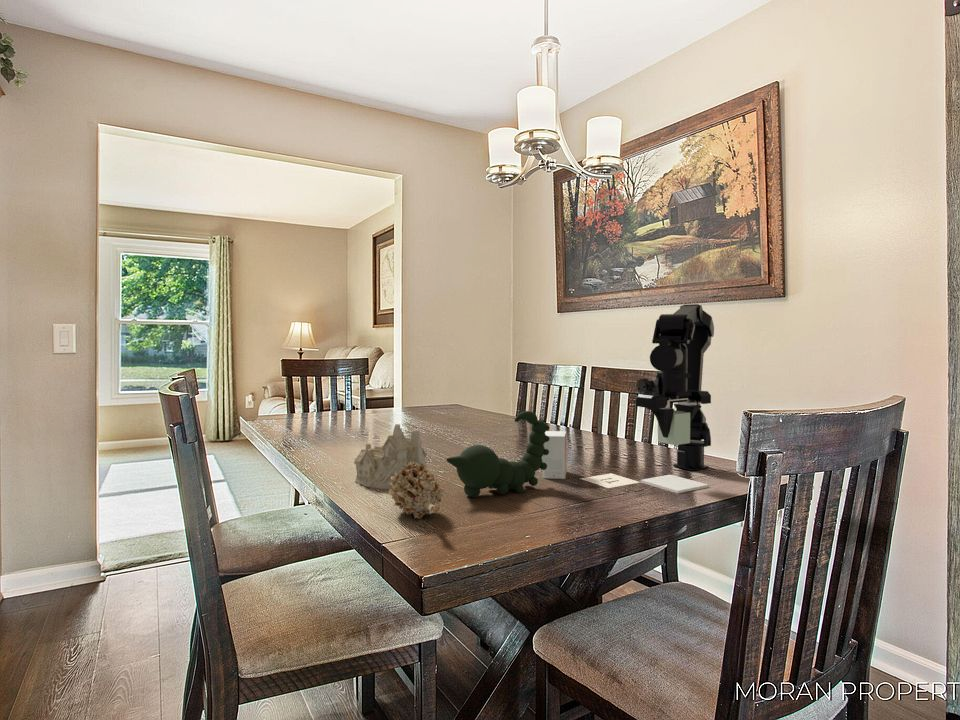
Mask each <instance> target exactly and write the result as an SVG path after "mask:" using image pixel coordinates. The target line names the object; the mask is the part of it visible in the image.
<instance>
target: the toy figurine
mask: <svg viewBox="0 0 960 720" xmlns="http://www.w3.org/2000/svg"><path fill="white" fill-rule="evenodd" d="M521 420H525V421H526V422H527V423H528V424H530V425H531V432H530V433H529V436H528V440H529V442H528V443H527V445H526V450H525V453H524V454H523V456H522V459H521V460H518V461H513V460H511V461H509V460H508V459H505V458H504V457H498V455H497V454H496V452H495V451H494V450H493V449H491V448H490V447H488V446H486V445H482V444H475V445H470V446H468V447H467V448H465V449H464V450H462V452H461V453H460V454H459V455H457V456H456V455H455V456H452V457H447V458H445V459H446V462H447V463H449V464H450V465H452V466H453V467H454V468H456V472H457V476H458V478H459V479H460V482H461V483H463V484H464V487H463V491H464V493H465V495H466V496H468V497H470V498H473V499H474V498H478V496H479V495H480V494H481V490H483V489H487V488H488V489H490V490H492V489H496V491H497V493H499V494H501V495H504V494H506V493H508V491H509V490H514V491H515V493H517V494H518V493H519V494H521V493H523V492H524V485H525V483H528V484H529V485H531V486H533V487H535V486H537V485H538V483H539V482H538V481H539V480H538V478H537V477H536V472H537V471H538V470H539V469H540V470H542V471H543V470H546V468H547V464H546V463H544V462H543V460H542V456H543V455H548V454H549V450H548V449H545V448H544V445H543V444H544V443H545V442H548V441H549V437H548V436H546V434H545V432H546V431H550V426H549V425H548V424H547V423H546V422H545V421H544V420H542V419H538V416H537V414H535V412H532V411H528V410H525V411H521V412H519V413H518V414H517V415H516V417H515V418H514V422H515V423H517V422H519V421H521ZM540 470H539V471H540Z"/></svg>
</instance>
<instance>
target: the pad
mask: <svg viewBox="0 0 960 720" xmlns="http://www.w3.org/2000/svg"><path fill="white" fill-rule="evenodd" d="M640 483H642V484H645V485H648V486H651V487H655V488H658V489H662V490H664V491H667V492H672V493H675V494H682V493H687V492H692V491H697V490H701V489H707V488H709V484H707V483H703V482H699V481H697V480H692V479H689V478H685V477H682V476H677V475H673V474H665V475H661V476H660V475H659V476H655V477H648V478H643V479H640Z"/></svg>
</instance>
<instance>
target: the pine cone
mask: <svg viewBox="0 0 960 720" xmlns="http://www.w3.org/2000/svg"><path fill="white" fill-rule="evenodd" d="M426 467H427V466H426ZM426 467H425V465H424V464H423V463H421V465H420V466H419V464H418V463H416V462H412V461H411V462H409V463H408V465H407V467H406V466H405V465H404V468H403V469H402V470H401V472H399V473H396V472H395V477H391V480H392V483H390V485H391V486H392V488H391V489H388V490H387V492H388V493H389V494H390V496H391V497H390V498H391V499H392V500H393V501H394V506H396V507H399V509H400V510H402V512H403V513H405V514H406V515H407V516H408V515H412V514H413V517H414V519H418V520H419V519H420V520H421V519H422V518H423V517H424V516H425V515H426V514H428V515H430V516H431V515H432V514H437V513H438V512H439V511H440V508H441V507H440V506H441V504H440V503H441V502H442V499H441V498H443V496H444V495H443V494H442V493H440V492H439V491H440V489H441V486H440V481H439V480H438V481H437V479H436V478H435V477H436V476H435V475H436V474H435V473H434V472H431V470H430V469H429V468H428V467H427V468H426ZM429 470H430V471H429Z"/></svg>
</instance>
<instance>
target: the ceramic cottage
mask: <svg viewBox="0 0 960 720" xmlns="http://www.w3.org/2000/svg"><path fill="white" fill-rule="evenodd" d="M393 427H394V428H393V431H392V434H389V435H388V436H387V438H386V440H385V441H384V443H383V445H380V446H376V445H375V446H374V448H372V444H371V443H366V444H365V448H363V449H360V451H359V454H357V456H356V458H355V459H354V461H353V464H354V465H355V468H356V469H355V470H356V475H355V481H356V482H355V481H354V482H355V483H357V484H358V483H359V484H358V485H361V484H362V485H361V486H363V487H365V486H366V488H372V489H378V490H379V489H380V490H390V489H391V488H392V486H391V485H390V483H392V480H391V477H395V472H396V473H399V472H401V470H402V469H403V468H404V465H405V466H406V467H407V465H408V463H409V462H411V461H412V462H416V463H418V464H419V466H420V465H421V463H423V464H424V465H425V467H426V468H428V467H427V460H426V457H427V453H426V452H425V450H424V448H423V446H422V440H421V436H420V435H421V434H420V429H412V430H411V435H410V437H406V436H405V434H404V431H403V429H402V428H401V424H397V423H396V424H395V425H394V426H393ZM429 471H430V472H431V470H430V469H429Z"/></svg>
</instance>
